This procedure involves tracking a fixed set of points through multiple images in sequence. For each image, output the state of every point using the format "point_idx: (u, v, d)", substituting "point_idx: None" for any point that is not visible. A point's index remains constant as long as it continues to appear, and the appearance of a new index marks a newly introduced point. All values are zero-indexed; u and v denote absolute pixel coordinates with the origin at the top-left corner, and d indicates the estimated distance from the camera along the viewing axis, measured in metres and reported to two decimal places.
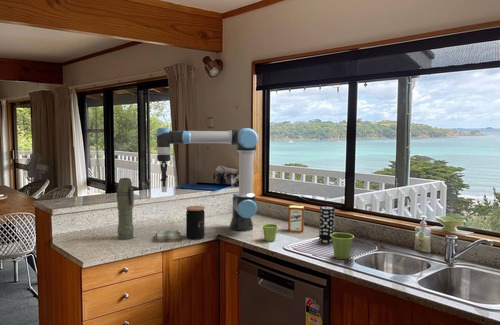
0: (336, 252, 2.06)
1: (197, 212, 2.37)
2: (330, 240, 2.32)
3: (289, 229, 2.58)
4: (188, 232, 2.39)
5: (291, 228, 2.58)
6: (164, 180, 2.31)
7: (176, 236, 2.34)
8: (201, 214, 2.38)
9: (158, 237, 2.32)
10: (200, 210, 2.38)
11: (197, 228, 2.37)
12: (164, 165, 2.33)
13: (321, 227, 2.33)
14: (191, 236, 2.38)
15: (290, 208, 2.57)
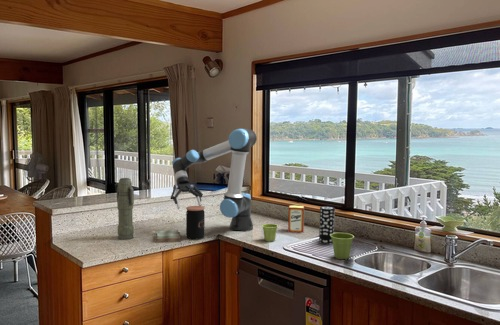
0: (336, 252, 2.06)
1: (197, 212, 2.37)
2: (330, 240, 2.32)
3: (289, 229, 2.58)
4: (188, 232, 2.39)
5: (291, 228, 2.58)
6: (173, 198, 2.48)
7: (176, 236, 2.34)
8: (201, 214, 2.38)
9: (158, 237, 2.32)
10: (200, 210, 2.38)
11: (197, 228, 2.37)
12: (173, 187, 2.54)
13: (321, 227, 2.33)
14: (191, 236, 2.38)
15: (290, 208, 2.57)
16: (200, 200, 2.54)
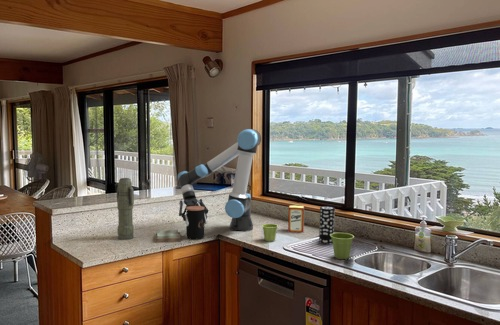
0: (336, 252, 2.06)
1: (197, 212, 2.37)
2: (330, 240, 2.32)
3: (289, 229, 2.58)
4: (188, 232, 2.39)
5: (291, 228, 2.58)
6: (181, 215, 2.40)
7: (176, 236, 2.34)
8: (201, 214, 2.38)
9: (158, 237, 2.32)
10: (200, 210, 2.38)
11: (197, 228, 2.37)
12: (180, 202, 2.45)
13: (321, 227, 2.33)
14: (191, 236, 2.38)
15: (290, 208, 2.57)
16: (206, 217, 2.44)
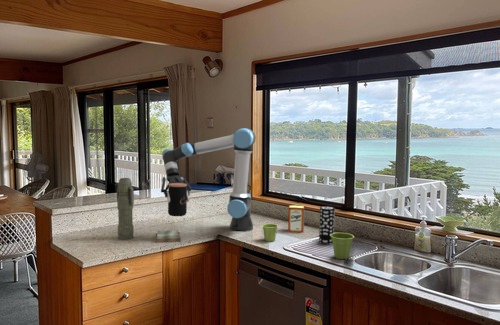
0: (336, 252, 2.06)
1: (179, 188, 2.34)
2: (330, 240, 2.32)
3: (289, 229, 2.58)
4: (170, 209, 2.36)
5: (291, 228, 2.58)
6: (163, 191, 2.37)
7: (176, 236, 2.34)
8: (183, 191, 2.35)
9: (158, 237, 2.32)
10: (182, 187, 2.35)
11: (178, 205, 2.35)
12: (162, 179, 2.42)
13: (321, 227, 2.33)
14: (172, 213, 2.35)
15: (290, 208, 2.57)
16: (188, 194, 2.41)
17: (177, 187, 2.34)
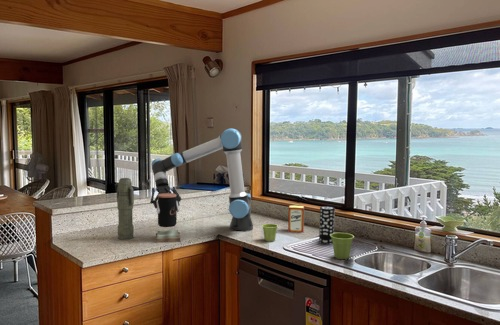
0: (336, 252, 2.06)
1: (168, 199, 2.32)
2: (330, 240, 2.32)
3: (289, 229, 2.58)
4: (159, 219, 2.34)
5: (291, 228, 2.58)
6: (153, 202, 2.35)
7: (176, 236, 2.34)
8: (173, 201, 2.34)
9: (158, 237, 2.32)
10: (171, 197, 2.33)
11: (168, 216, 2.33)
12: (152, 190, 2.41)
13: (321, 227, 2.33)
14: (162, 224, 2.33)
15: (290, 208, 2.57)
16: (178, 204, 2.40)
17: (166, 198, 2.32)
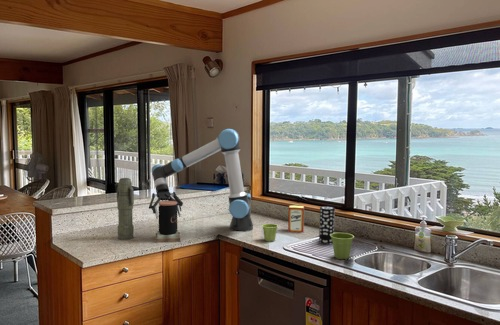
0: (336, 252, 2.06)
1: (169, 207, 2.33)
2: (330, 240, 2.32)
3: (289, 229, 2.58)
4: (160, 227, 2.35)
5: (291, 228, 2.58)
6: (151, 207, 2.36)
7: (176, 236, 2.34)
8: (173, 209, 2.34)
9: (158, 237, 2.32)
10: (172, 205, 2.34)
11: (169, 224, 2.33)
12: (152, 195, 2.41)
13: (321, 227, 2.33)
14: (163, 231, 2.34)
15: (290, 208, 2.57)
16: (180, 209, 2.41)
17: (167, 206, 2.33)
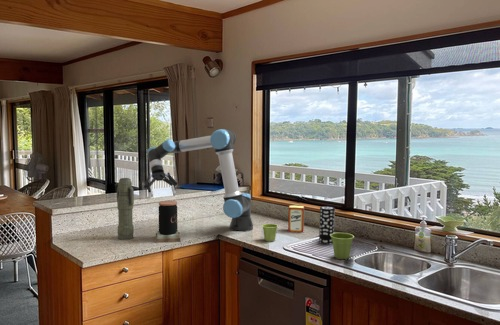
0: (336, 252, 2.06)
1: (169, 207, 2.33)
2: (330, 240, 2.32)
3: (289, 229, 2.58)
4: (160, 227, 2.35)
5: (291, 228, 2.58)
6: (147, 186, 2.47)
7: (176, 236, 2.34)
8: (173, 209, 2.34)
9: (158, 237, 2.32)
10: (172, 205, 2.34)
11: (169, 224, 2.33)
12: (147, 175, 2.52)
13: (321, 227, 2.33)
14: (163, 231, 2.34)
15: (290, 208, 2.57)
16: (174, 189, 2.52)
17: (167, 206, 2.33)
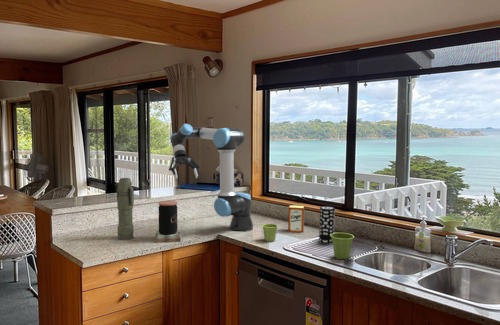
0: (336, 252, 2.06)
1: (169, 207, 2.33)
2: (330, 240, 2.32)
3: (289, 229, 2.58)
4: (160, 227, 2.35)
5: (291, 228, 2.58)
6: (171, 169, 2.63)
7: (176, 236, 2.34)
8: (173, 209, 2.34)
9: (158, 237, 2.32)
10: (172, 205, 2.34)
11: (169, 224, 2.33)
12: None
13: (321, 227, 2.33)
14: (163, 231, 2.34)
15: (290, 208, 2.57)
16: (197, 172, 2.69)
17: (167, 206, 2.33)
